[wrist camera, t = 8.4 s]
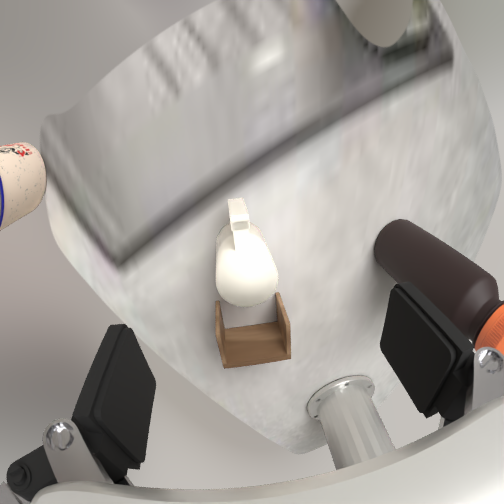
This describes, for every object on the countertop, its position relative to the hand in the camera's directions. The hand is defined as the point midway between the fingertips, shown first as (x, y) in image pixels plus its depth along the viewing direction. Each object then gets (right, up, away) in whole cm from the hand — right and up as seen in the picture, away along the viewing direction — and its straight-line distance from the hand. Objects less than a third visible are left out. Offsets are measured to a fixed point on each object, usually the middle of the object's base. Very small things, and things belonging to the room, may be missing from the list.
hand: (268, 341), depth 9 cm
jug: (-2, +5, +20) cm, 21 cm away
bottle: (+17, +4, +23) cm, 29 cm away
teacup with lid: (-29, +12, +14) cm, 34 cm away
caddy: (-1, -4, +24) cm, 25 cm away
